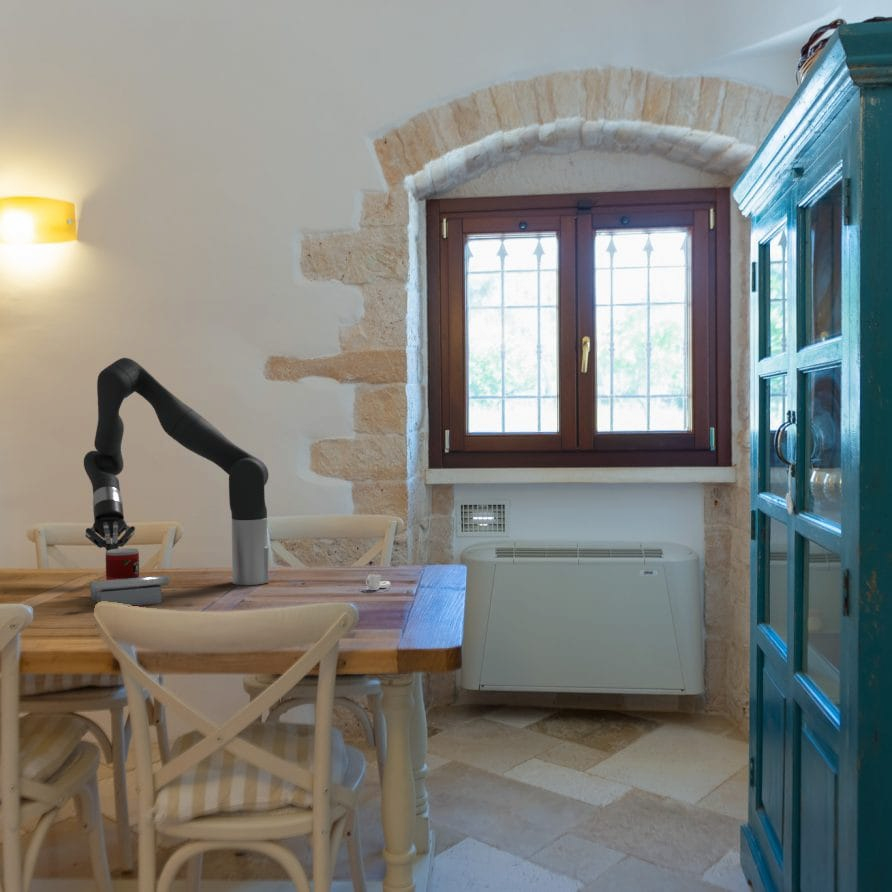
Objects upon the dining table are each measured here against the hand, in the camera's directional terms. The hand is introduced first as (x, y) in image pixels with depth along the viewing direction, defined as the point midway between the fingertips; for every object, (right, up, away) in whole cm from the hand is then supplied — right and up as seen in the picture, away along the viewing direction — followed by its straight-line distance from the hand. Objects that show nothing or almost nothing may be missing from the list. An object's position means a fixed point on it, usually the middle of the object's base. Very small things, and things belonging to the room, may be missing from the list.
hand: (112, 557), depth 232 cm
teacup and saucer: (+72, -8, -6) cm, 73 cm away
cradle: (+11, -8, -18) cm, 23 cm away
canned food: (+6, -8, -10) cm, 14 cm away
